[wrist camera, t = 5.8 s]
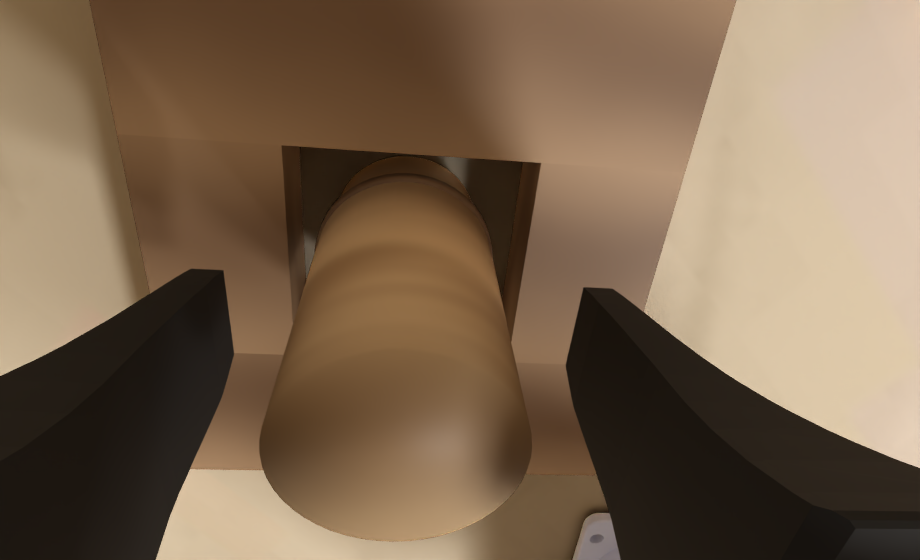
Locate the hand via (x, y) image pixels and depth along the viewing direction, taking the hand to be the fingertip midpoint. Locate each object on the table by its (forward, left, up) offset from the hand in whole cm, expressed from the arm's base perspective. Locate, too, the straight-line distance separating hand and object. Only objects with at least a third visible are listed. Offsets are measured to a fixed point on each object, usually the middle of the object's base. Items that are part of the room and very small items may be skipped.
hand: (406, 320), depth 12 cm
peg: (0, 0, -4) cm, 4 cm away
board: (0, 0, -4) cm, 4 cm away
